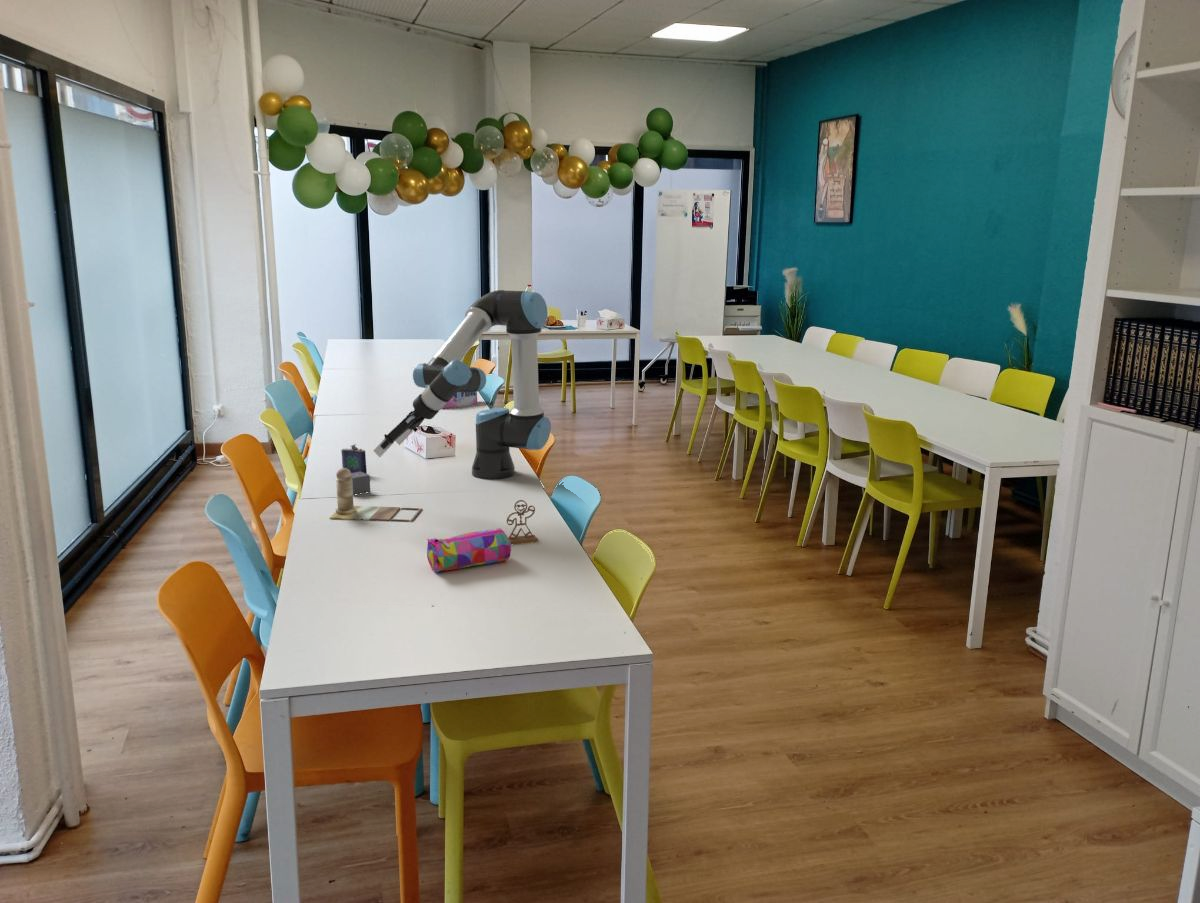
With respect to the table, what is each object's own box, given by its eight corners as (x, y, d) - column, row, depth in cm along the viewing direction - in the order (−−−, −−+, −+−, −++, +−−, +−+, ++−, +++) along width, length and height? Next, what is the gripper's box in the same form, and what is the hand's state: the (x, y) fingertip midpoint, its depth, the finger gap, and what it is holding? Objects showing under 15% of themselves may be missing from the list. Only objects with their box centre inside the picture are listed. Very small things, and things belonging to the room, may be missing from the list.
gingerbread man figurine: (507, 545, 256) (506, 503, 253) (503, 540, 260) (503, 499, 257) (538, 542, 259) (538, 501, 256) (534, 537, 263) (534, 497, 260)
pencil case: (435, 579, 232) (433, 545, 230) (422, 567, 240) (421, 534, 238) (514, 564, 242) (514, 532, 240) (500, 553, 250) (499, 521, 248)
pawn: (357, 508, 285) (355, 465, 282) (354, 514, 280) (352, 470, 276) (337, 508, 285) (334, 465, 281) (334, 514, 279) (331, 470, 275)
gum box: (435, 410, 437) (434, 381, 434) (426, 407, 443) (425, 379, 440) (477, 404, 453) (477, 376, 450) (468, 401, 459) (468, 374, 455)
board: (422, 509, 287) (422, 507, 287) (412, 521, 275) (412, 520, 275) (343, 507, 288) (343, 505, 288) (329, 519, 276) (329, 517, 276)
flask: (341, 474, 325) (339, 444, 323) (345, 472, 328) (344, 442, 326) (364, 476, 323) (363, 446, 320) (368, 474, 326) (367, 444, 323)
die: (370, 492, 304) (369, 475, 302) (353, 496, 300) (352, 478, 298) (361, 488, 308) (360, 471, 307) (344, 492, 304) (343, 474, 303)
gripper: (437, 384, 286) (396, 428, 294) (403, 402, 263) (359, 449, 271) (454, 401, 287) (412, 445, 294) (421, 421, 263) (377, 468, 271)
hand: (386, 447), depth 282 cm, fingers open, 13 cm apart
